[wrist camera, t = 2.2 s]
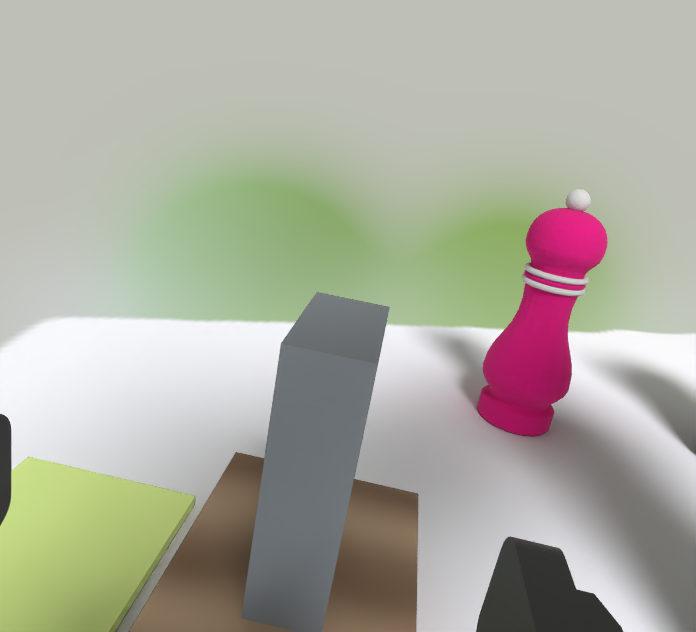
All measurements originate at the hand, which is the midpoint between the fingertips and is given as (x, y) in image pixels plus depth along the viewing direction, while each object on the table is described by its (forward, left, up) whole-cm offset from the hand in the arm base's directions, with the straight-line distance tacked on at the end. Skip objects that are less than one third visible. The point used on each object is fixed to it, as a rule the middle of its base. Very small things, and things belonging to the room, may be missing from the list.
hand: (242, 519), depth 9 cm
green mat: (-4, -16, -15) cm, 23 cm away
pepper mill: (-40, -7, -16) cm, 44 cm away
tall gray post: (-10, -6, -11) cm, 16 cm away
